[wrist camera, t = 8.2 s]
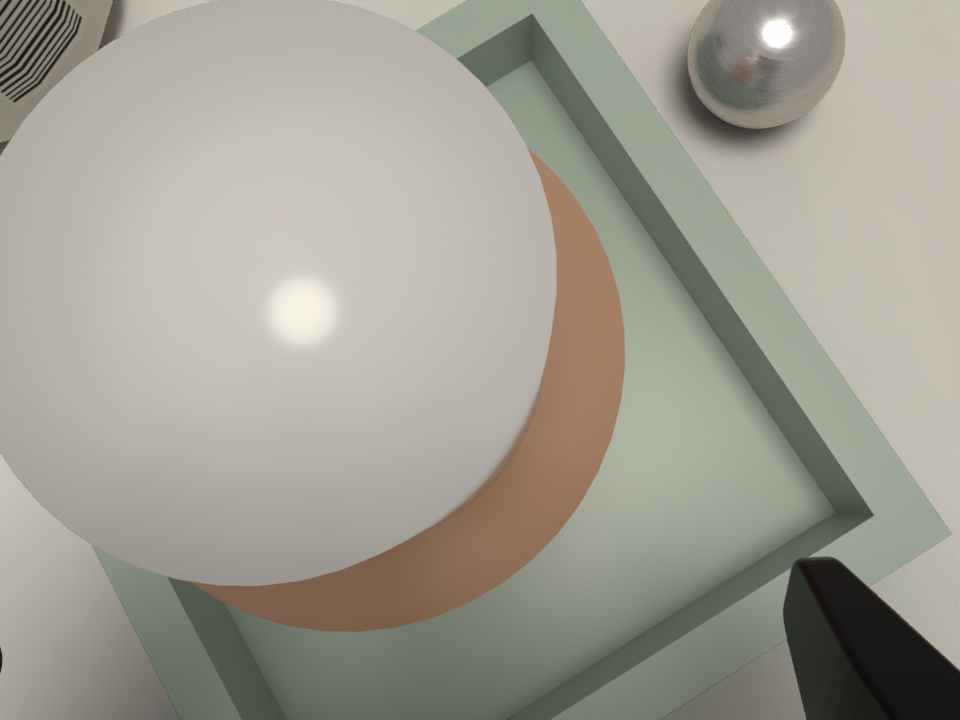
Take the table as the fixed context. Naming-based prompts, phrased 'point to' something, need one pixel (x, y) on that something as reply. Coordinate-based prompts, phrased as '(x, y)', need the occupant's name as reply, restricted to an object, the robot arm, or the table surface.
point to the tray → (624, 470)
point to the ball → (765, 58)
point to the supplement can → (42, 50)
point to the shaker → (300, 317)
